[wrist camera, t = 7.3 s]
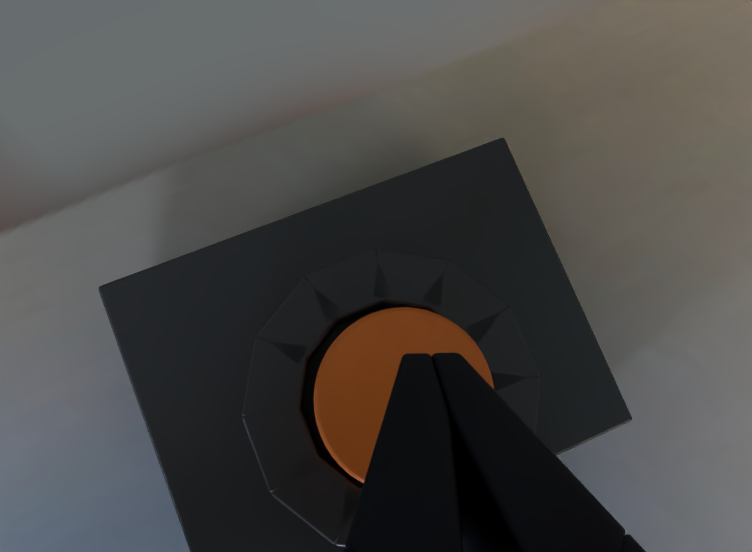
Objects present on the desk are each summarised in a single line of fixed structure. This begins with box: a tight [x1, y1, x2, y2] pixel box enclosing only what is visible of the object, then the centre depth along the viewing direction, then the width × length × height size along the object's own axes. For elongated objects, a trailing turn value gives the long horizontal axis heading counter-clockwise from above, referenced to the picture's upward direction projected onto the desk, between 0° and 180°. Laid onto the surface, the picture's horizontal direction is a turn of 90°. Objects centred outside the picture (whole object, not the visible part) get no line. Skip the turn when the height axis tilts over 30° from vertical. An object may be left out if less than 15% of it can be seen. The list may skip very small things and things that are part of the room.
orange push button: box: [314, 307, 494, 483], centre depth 12 cm, size 3×3×2 cm
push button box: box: [99, 138, 632, 552], centre depth 16 cm, size 11×8×6 cm
